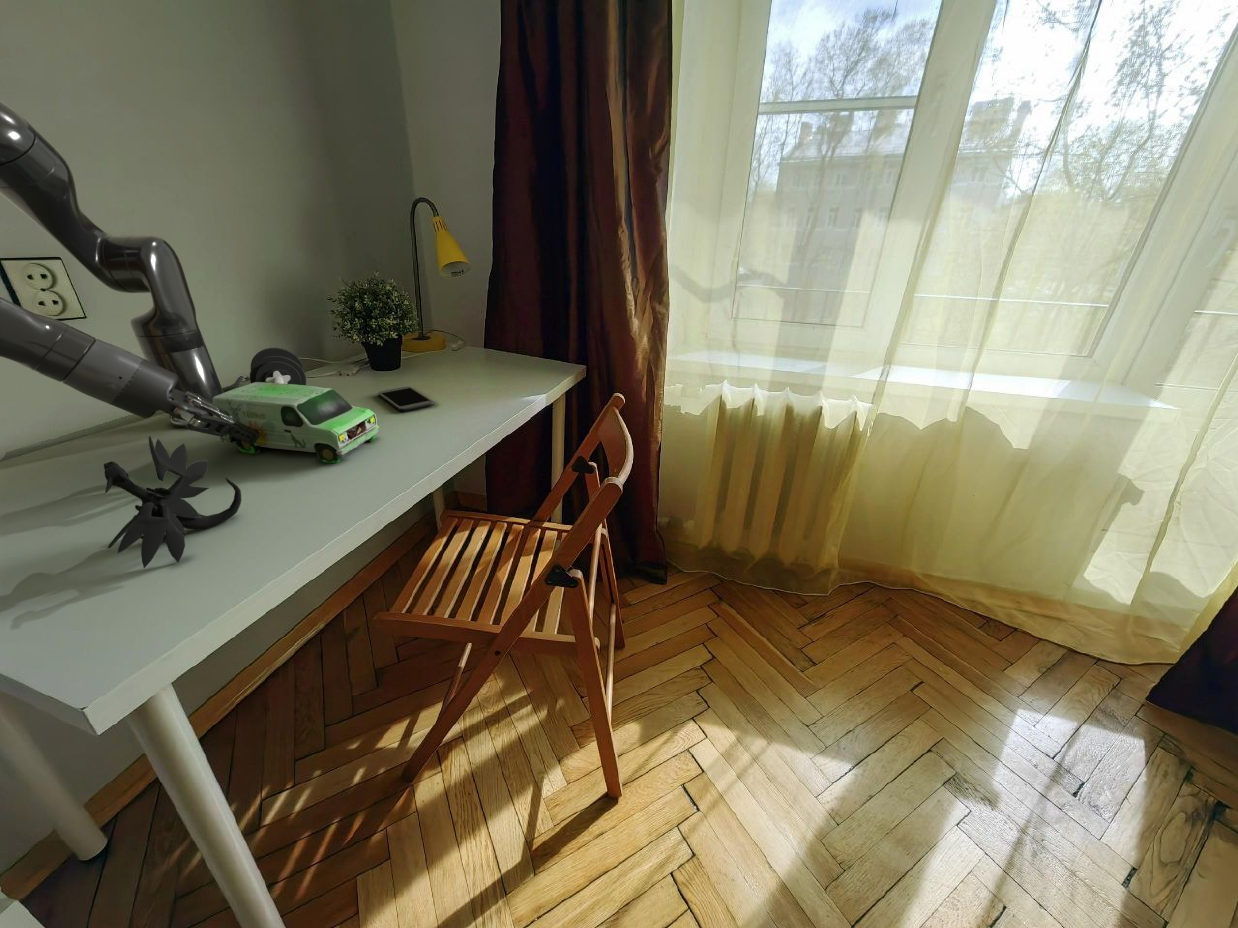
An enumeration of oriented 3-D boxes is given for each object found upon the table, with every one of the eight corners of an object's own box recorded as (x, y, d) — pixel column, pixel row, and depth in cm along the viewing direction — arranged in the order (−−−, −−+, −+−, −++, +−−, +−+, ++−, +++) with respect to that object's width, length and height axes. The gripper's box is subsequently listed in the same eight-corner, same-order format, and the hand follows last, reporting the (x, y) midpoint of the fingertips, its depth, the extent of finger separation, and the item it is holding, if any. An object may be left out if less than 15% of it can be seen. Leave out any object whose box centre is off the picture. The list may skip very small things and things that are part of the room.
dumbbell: (314, 406, 105) (300, 360, 100) (258, 414, 100) (241, 366, 95) (307, 380, 121) (295, 339, 116) (258, 386, 116) (244, 344, 111)
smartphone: (409, 388, 115) (408, 384, 115) (436, 405, 105) (435, 401, 105) (376, 395, 111) (376, 391, 110) (401, 413, 101) (400, 409, 100)
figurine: (212, 589, 63) (215, 564, 55) (73, 577, 56) (54, 547, 48) (250, 478, 70) (257, 444, 63) (132, 456, 63) (124, 414, 56)
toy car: (345, 465, 80) (329, 408, 76) (219, 450, 85) (197, 395, 80) (385, 439, 89) (373, 387, 85) (270, 427, 94) (253, 377, 89)
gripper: (138, 367, 64) (276, 432, 76) (141, 348, 73) (265, 408, 85) (100, 415, 63) (246, 472, 76) (109, 389, 72) (238, 444, 85)
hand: (256, 438), depth 80 cm, fingers closed
